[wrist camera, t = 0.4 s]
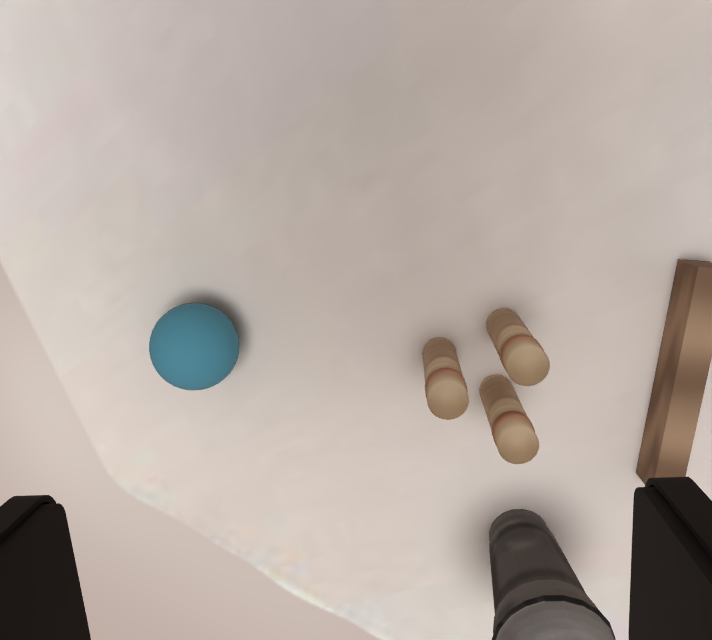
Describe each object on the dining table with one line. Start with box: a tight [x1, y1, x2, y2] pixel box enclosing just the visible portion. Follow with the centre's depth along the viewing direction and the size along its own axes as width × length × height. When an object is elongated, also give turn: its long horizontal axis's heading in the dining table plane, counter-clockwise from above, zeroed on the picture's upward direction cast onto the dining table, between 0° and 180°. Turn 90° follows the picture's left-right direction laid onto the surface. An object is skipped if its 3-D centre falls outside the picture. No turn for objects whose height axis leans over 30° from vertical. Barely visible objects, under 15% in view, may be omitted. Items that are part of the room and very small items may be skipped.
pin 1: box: [486, 309, 550, 386], centre depth 40 cm, size 2×2×9 cm
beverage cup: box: [489, 509, 615, 640], centre depth 39 cm, size 7×7×20 cm
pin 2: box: [480, 375, 539, 464], centre depth 41 cm, size 2×2×9 cm
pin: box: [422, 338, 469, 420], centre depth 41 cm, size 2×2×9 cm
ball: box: [149, 303, 239, 390], centre depth 43 cm, size 6×6×6 cm
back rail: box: [636, 259, 712, 485], centre depth 43 cm, size 16×2×3 cm, turn 176°
